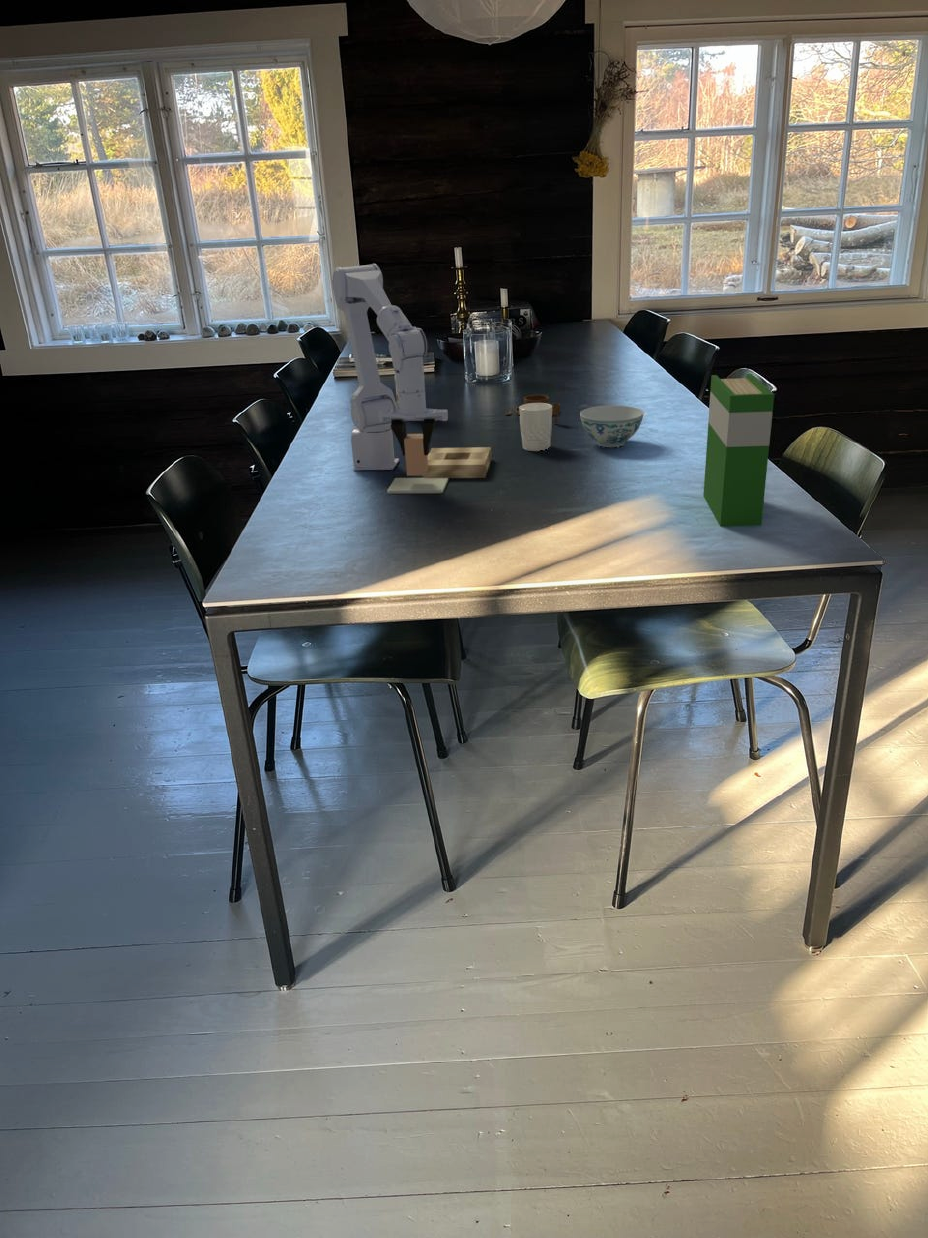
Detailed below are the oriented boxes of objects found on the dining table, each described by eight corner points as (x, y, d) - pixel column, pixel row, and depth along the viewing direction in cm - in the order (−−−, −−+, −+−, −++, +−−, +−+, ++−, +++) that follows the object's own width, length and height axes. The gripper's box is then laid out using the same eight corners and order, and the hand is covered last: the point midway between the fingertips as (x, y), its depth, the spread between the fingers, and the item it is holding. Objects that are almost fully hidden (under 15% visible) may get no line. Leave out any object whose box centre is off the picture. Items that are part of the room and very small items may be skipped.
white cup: (526, 453, 218) (525, 411, 214) (515, 445, 225) (514, 404, 220) (557, 449, 220) (557, 408, 215) (545, 441, 227) (545, 401, 222)
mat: (387, 493, 196) (386, 490, 195) (395, 480, 204) (395, 477, 203) (442, 493, 194) (442, 490, 194) (448, 480, 202) (448, 477, 202)
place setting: (571, 410, 258) (571, 388, 255) (562, 428, 240) (562, 405, 238) (510, 409, 261) (510, 388, 259) (496, 427, 244) (496, 405, 241)
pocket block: (422, 478, 204) (422, 465, 203) (432, 460, 217) (431, 447, 215) (485, 477, 202) (484, 464, 201) (491, 459, 215) (490, 447, 213)
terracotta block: (407, 475, 196) (403, 439, 193) (410, 469, 200) (407, 433, 196) (425, 475, 196) (422, 438, 192) (428, 469, 199) (425, 433, 196)
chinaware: (641, 453, 214) (642, 420, 210) (577, 452, 217) (577, 420, 213) (643, 436, 227) (644, 405, 223) (582, 436, 230) (582, 405, 226)
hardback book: (703, 495, 184) (711, 375, 174) (740, 494, 184) (751, 373, 173) (720, 526, 168) (730, 395, 158) (761, 525, 168) (774, 394, 157)
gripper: (372, 395, 187) (379, 459, 193) (442, 393, 185) (446, 458, 191) (380, 387, 193) (385, 450, 199) (447, 386, 191) (451, 449, 197)
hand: (416, 454), depth 196 cm, fingers closed on terracotta block, 4 cm apart
